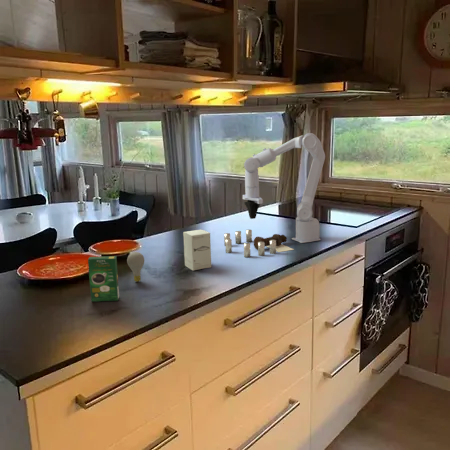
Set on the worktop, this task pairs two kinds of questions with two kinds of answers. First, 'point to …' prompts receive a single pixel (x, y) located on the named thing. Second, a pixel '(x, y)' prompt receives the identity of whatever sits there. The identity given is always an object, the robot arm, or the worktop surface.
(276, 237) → the brown bone
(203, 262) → the supplement box
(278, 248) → the mat
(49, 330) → the worktop surface
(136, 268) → the light bulb
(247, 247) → the spacers
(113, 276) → the coffee box
